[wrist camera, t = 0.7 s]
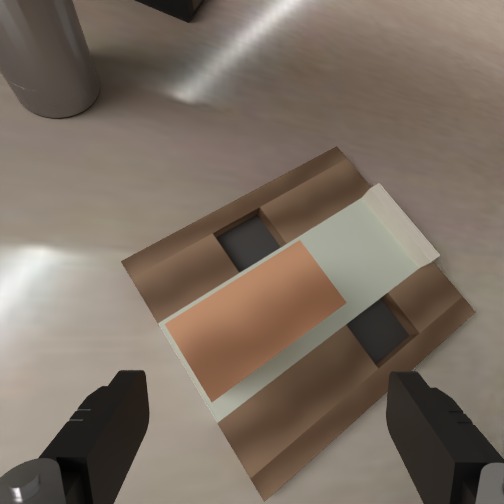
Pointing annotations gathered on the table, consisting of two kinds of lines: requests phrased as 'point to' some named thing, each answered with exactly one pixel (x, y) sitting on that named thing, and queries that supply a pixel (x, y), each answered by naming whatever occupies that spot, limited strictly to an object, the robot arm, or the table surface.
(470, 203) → the table surface
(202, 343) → the block
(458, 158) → the table surface
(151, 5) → the portable cd player
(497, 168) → the table surface
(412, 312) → the lane board
